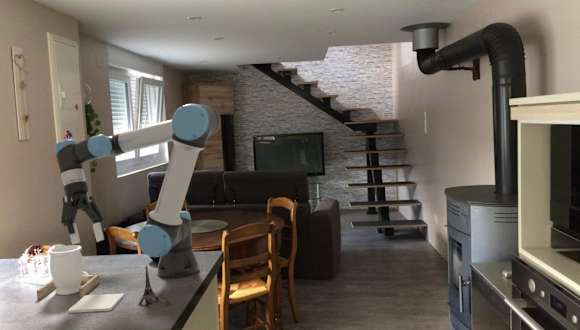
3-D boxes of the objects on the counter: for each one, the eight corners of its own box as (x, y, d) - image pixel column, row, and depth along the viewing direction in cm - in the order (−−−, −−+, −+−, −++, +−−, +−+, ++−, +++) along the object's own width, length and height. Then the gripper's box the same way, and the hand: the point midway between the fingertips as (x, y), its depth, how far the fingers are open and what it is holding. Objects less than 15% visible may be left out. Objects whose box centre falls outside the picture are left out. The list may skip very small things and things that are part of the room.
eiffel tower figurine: (174, 307, 157) (171, 265, 156) (141, 315, 152) (137, 271, 151) (159, 294, 170) (156, 255, 169) (128, 301, 165) (125, 260, 163)
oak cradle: (99, 282, 184) (98, 274, 183) (82, 297, 169) (82, 288, 168) (58, 284, 184) (57, 276, 183) (37, 299, 169) (36, 290, 168)
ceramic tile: (124, 295, 168) (124, 293, 168) (110, 310, 155) (110, 308, 155) (85, 297, 168) (85, 295, 168) (68, 312, 155) (67, 310, 155)
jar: (73, 297, 169) (69, 252, 168) (45, 296, 172) (41, 252, 170) (91, 286, 180) (88, 244, 178) (65, 285, 182) (61, 244, 181)
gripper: (87, 188, 192) (100, 242, 189) (40, 185, 168) (55, 247, 165) (104, 181, 191) (118, 236, 188) (60, 178, 167) (74, 241, 164)
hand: (88, 242), depth 176 cm, fingers open, 13 cm apart
